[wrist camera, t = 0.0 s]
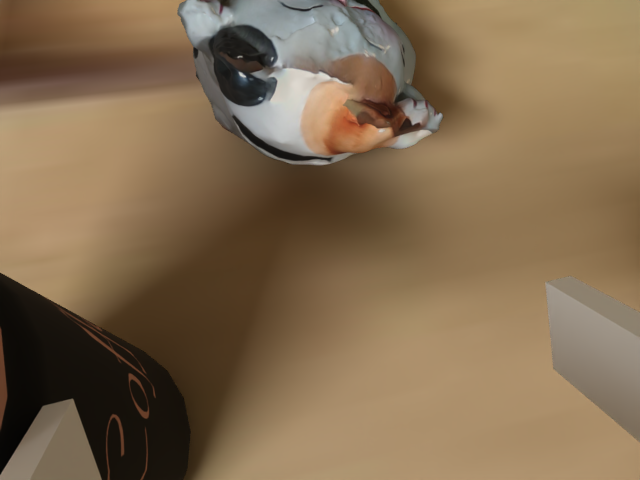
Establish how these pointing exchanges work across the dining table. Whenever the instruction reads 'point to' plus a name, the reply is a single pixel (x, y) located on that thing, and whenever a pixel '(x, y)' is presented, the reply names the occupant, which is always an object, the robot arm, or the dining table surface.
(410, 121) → the grey sculpted piece
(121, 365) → the coffee jar
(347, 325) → the dining table surface
